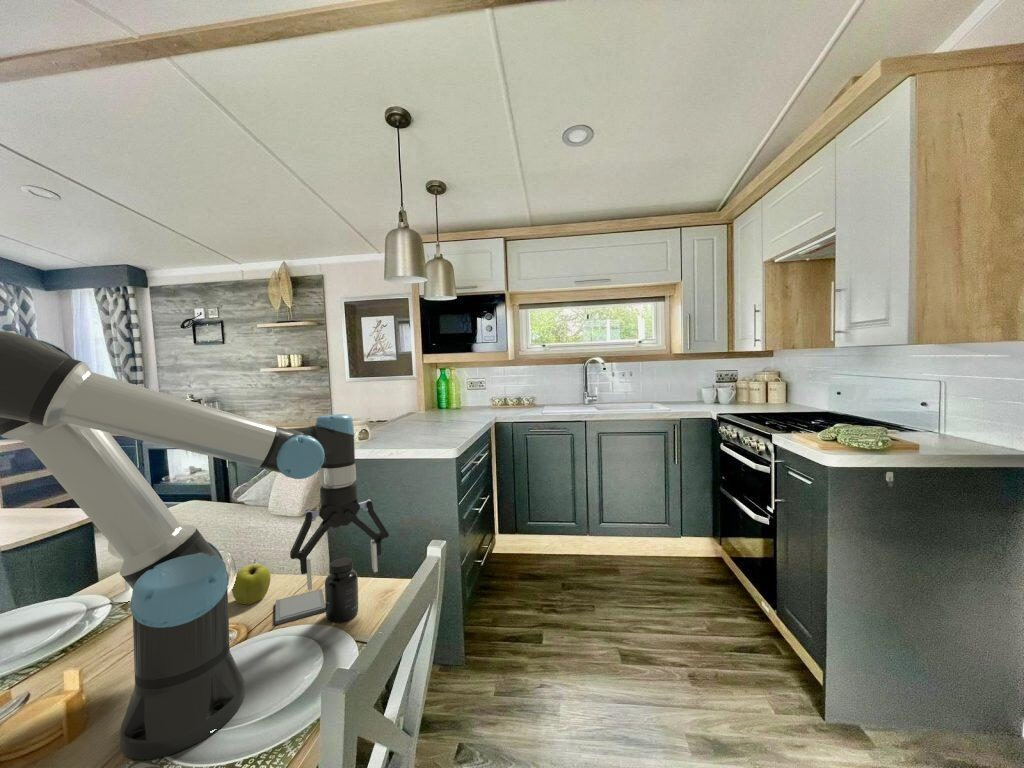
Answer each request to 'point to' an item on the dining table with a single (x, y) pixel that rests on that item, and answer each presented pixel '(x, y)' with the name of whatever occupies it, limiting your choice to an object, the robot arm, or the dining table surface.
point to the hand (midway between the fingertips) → (343, 578)
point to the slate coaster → (299, 606)
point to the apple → (251, 584)
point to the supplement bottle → (341, 591)
